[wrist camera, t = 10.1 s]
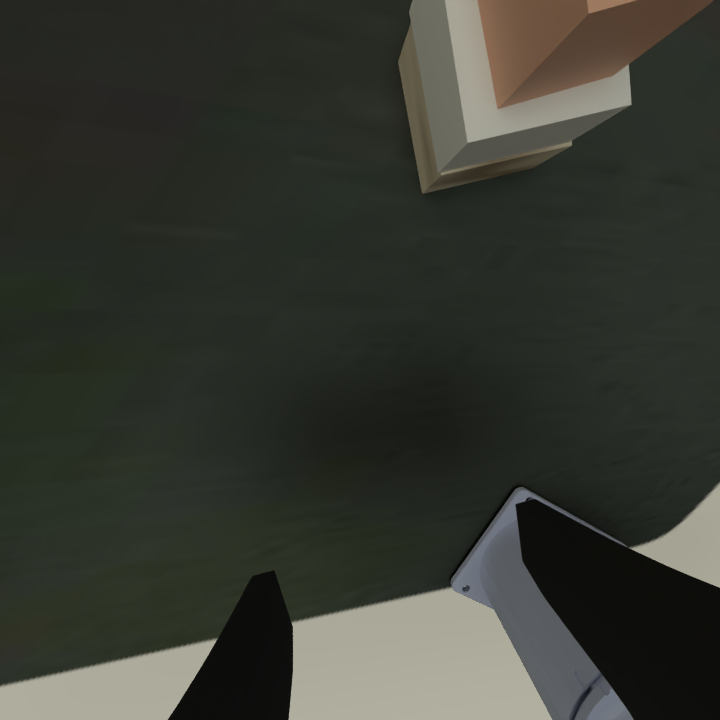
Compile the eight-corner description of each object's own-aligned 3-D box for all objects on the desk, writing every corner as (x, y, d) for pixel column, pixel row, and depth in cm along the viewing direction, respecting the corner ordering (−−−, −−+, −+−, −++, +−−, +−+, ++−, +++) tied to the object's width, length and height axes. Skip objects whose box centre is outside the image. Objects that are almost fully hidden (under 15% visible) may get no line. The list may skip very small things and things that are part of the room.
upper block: (552, -19, 14) (617, -107, 11) (569, 142, 15) (631, 104, 12) (409, 11, 14) (433, -69, 11) (438, 173, 15) (467, 142, 12)
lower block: (514, 39, 17) (556, -16, 14) (530, 169, 19) (571, 145, 15) (397, 64, 17) (413, 13, 14) (421, 194, 18) (441, 175, 15)
